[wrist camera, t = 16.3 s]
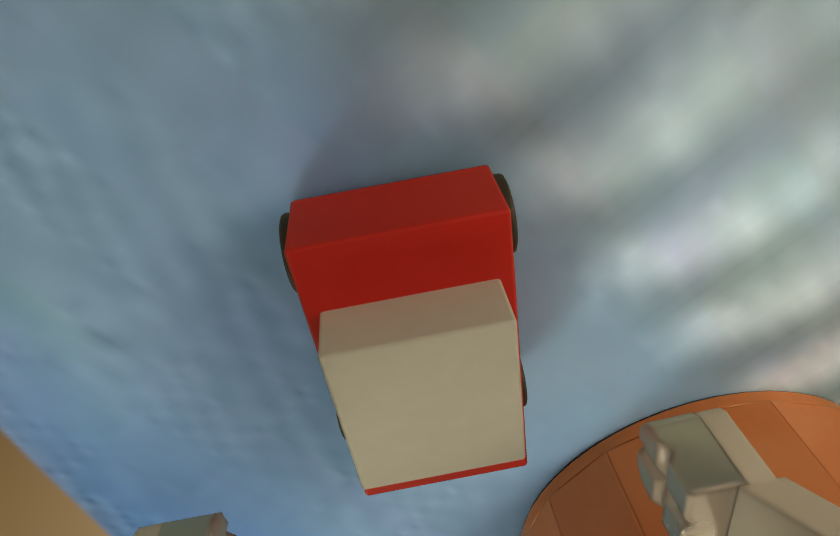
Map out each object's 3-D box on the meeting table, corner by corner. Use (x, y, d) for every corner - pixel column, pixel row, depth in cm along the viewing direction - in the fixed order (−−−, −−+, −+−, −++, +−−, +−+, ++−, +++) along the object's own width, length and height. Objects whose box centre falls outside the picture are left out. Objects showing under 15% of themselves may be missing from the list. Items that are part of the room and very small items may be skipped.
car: (276, 183, 13) (254, 299, 9) (495, 143, 13) (552, 243, 10) (350, 412, 17) (353, 549, 14) (513, 381, 17) (557, 510, 14)
